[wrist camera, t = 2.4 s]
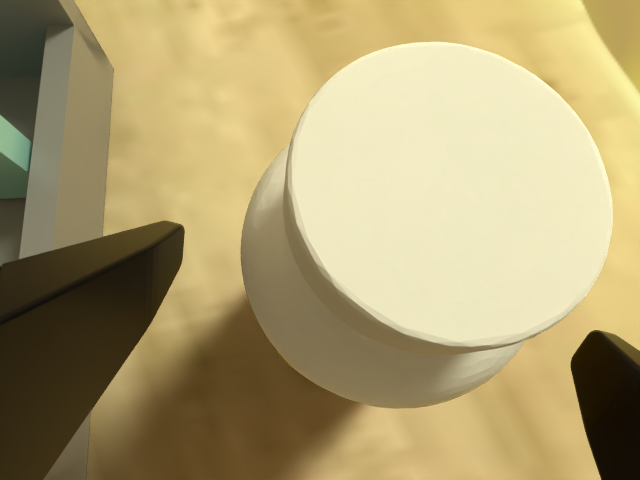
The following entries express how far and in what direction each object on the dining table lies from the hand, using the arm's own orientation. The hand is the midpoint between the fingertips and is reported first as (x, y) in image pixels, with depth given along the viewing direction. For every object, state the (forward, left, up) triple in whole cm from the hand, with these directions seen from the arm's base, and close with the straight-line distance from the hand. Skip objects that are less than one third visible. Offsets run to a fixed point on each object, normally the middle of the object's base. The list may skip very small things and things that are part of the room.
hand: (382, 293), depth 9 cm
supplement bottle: (+1, 0, -9) cm, 9 cm away
